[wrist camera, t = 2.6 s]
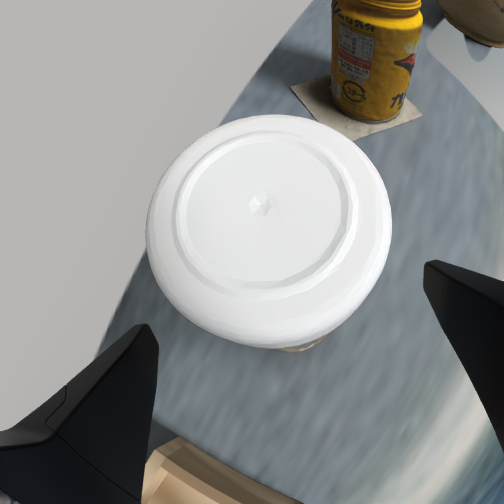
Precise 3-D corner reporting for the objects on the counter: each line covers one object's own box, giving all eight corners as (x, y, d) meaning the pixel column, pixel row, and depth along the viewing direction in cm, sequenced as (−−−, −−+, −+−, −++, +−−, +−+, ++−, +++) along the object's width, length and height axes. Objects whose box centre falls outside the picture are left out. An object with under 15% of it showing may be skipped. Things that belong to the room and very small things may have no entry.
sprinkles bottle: (307, 262, 19) (304, 78, 6) (346, 328, 17) (449, 249, 4) (239, 299, 18) (113, 175, 6) (275, 368, 17) (196, 395, 4)
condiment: (422, 116, 21) (459, -8, 10) (337, 148, 21) (346, -4, 10) (370, 65, 24) (379, -48, 12) (290, 89, 24) (273, -39, 12)
